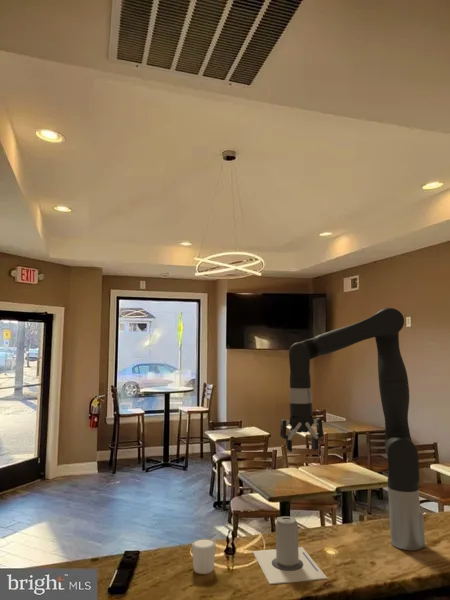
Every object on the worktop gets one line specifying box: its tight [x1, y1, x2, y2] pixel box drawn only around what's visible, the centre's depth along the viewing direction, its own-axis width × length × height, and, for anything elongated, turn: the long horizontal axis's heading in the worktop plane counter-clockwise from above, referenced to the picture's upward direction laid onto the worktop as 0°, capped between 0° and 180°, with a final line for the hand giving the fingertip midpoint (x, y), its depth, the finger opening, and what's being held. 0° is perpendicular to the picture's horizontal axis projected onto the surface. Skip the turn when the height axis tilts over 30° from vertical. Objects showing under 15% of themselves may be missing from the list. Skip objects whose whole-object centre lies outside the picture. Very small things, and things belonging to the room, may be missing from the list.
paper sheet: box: [252, 546, 328, 585], centre depth 129 cm, size 16×20×1 cm
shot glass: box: [191, 538, 217, 575], centre depth 127 cm, size 7×7×7 cm
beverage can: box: [275, 515, 299, 567], centre depth 129 cm, size 6×6×12 cm
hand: (302, 450), depth 150 cm, fingers open, 8 cm apart
